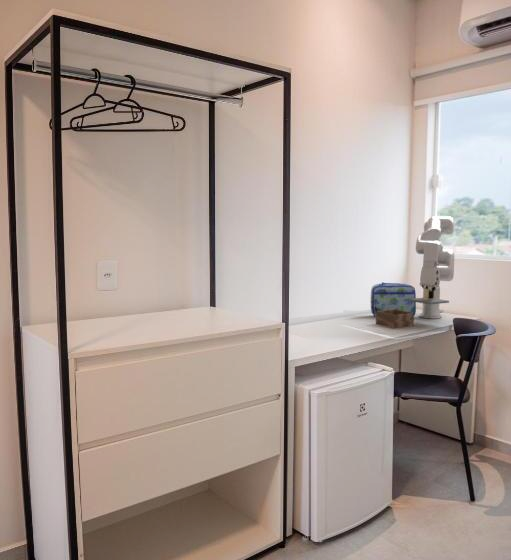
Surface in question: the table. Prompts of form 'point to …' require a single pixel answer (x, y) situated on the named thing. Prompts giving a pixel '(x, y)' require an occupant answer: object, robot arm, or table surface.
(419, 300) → the lid
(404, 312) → the walnut box
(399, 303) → the lunch box
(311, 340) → the table surface
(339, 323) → the table surface
